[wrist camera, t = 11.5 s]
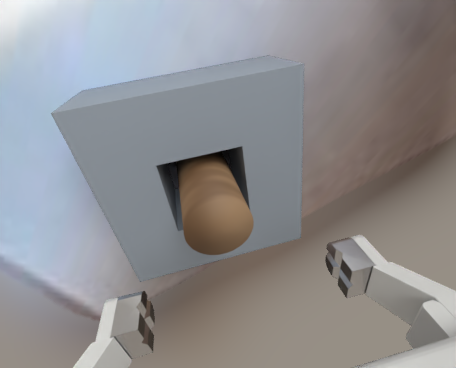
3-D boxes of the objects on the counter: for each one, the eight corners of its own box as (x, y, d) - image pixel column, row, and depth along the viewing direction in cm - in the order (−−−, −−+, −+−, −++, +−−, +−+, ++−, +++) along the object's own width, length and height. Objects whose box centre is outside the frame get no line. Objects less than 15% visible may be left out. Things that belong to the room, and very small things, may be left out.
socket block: (268, 55, 20) (304, 63, 15) (275, 199, 27) (300, 237, 22) (82, 90, 18) (50, 113, 13) (144, 232, 26) (140, 281, 21)
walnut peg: (216, 130, 22) (250, 192, 13) (223, 170, 24) (256, 244, 16) (170, 140, 21) (175, 210, 13) (182, 180, 23) (192, 262, 15)
